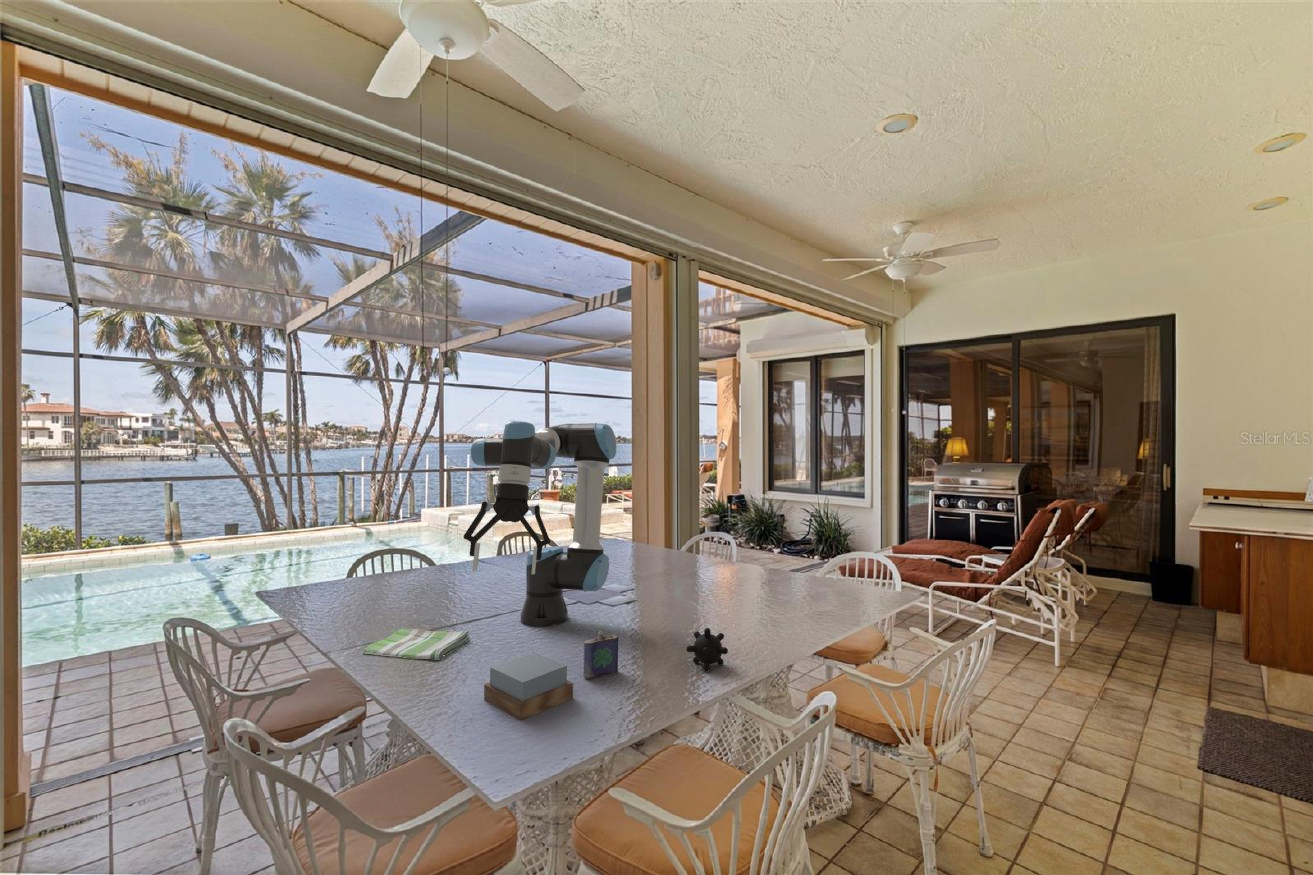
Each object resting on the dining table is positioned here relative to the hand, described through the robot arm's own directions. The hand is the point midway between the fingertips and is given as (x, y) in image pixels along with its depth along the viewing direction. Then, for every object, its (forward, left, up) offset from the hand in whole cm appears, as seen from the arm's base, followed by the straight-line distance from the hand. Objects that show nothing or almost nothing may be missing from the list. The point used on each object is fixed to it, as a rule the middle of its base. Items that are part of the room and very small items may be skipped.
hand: (504, 572), depth 134 cm
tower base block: (0, +11, -27) cm, 29 cm away
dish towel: (+2, -39, -27) cm, 48 cm away
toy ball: (-42, +29, -27) cm, 57 cm away
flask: (-20, +13, -27) cm, 36 cm away
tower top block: (0, +11, -23) cm, 26 cm away
